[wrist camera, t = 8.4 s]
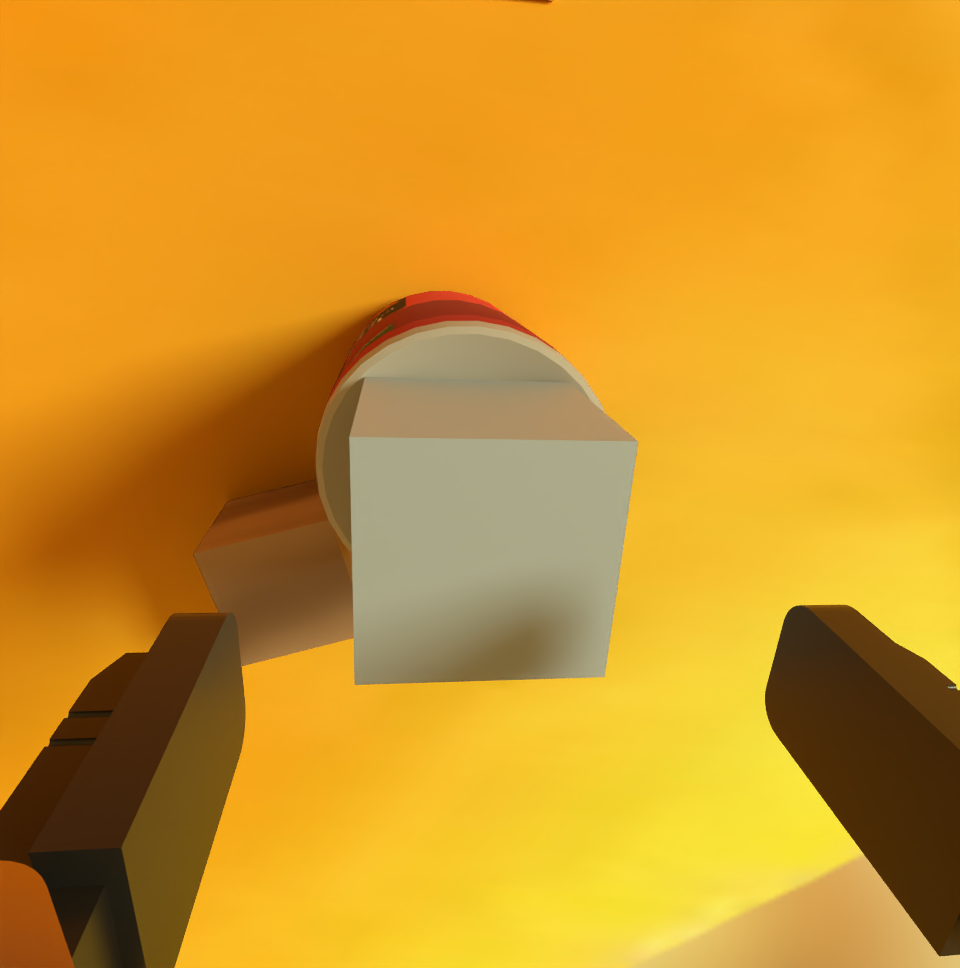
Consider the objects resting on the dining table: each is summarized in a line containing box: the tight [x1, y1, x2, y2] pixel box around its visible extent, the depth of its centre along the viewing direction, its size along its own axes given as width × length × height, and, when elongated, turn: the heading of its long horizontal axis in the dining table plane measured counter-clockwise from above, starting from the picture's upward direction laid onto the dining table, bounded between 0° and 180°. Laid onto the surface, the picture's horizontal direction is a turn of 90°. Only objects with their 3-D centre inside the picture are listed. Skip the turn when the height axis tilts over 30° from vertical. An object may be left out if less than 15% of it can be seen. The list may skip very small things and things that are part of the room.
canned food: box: [315, 291, 605, 553], centre depth 22 cm, size 8×8×11 cm
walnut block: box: [193, 480, 354, 666], centre depth 26 cm, size 5×5×5 cm
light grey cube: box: [349, 377, 638, 685], centre depth 14 cm, size 5×5×5 cm
